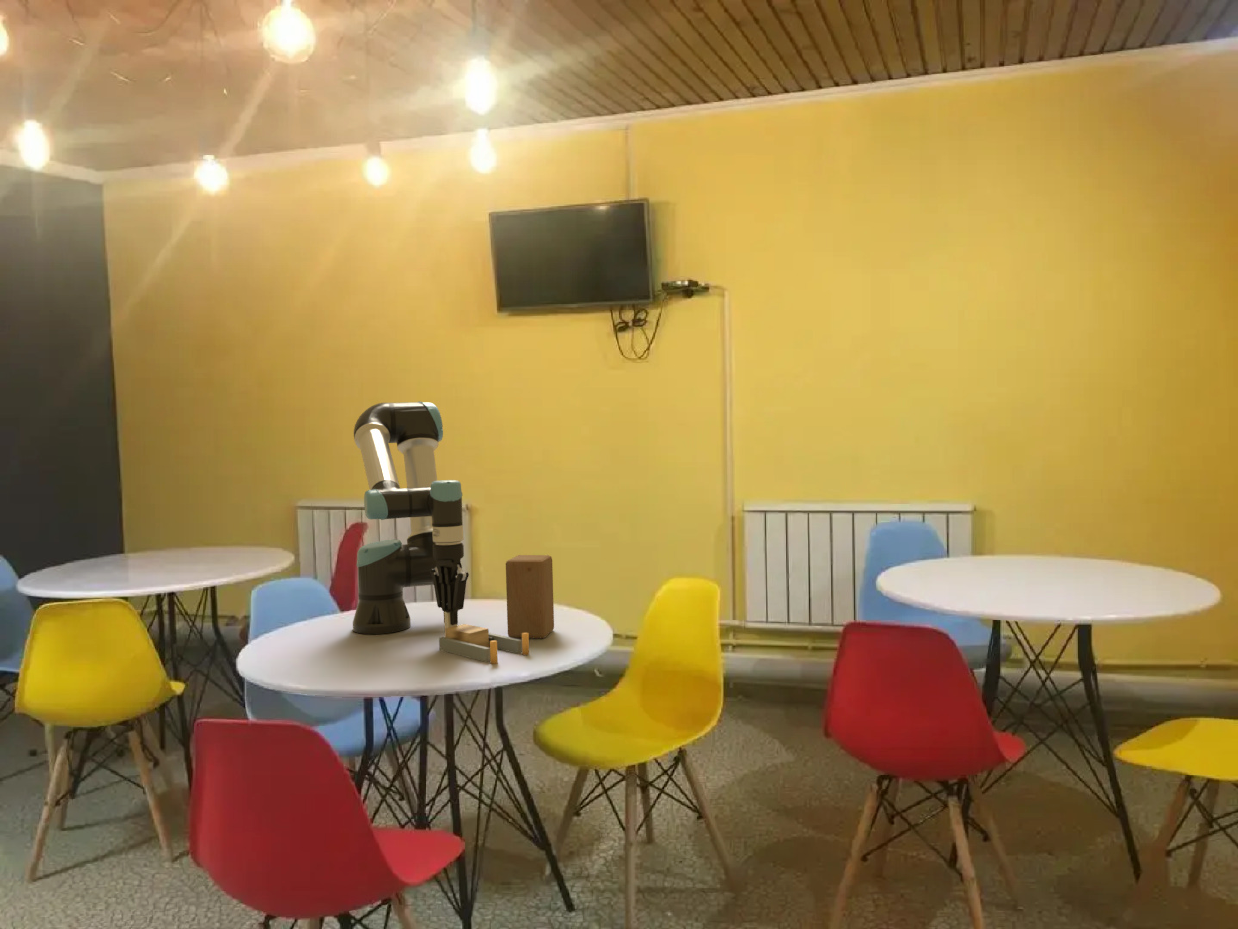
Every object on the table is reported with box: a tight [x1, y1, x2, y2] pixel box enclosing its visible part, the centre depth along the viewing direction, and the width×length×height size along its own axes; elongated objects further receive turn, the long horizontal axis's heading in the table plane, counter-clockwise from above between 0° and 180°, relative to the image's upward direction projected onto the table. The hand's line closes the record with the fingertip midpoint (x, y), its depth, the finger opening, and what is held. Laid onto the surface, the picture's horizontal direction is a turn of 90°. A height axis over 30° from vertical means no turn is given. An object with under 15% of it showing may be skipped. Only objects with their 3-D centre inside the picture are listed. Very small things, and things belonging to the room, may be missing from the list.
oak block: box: [444, 623, 490, 648], centre depth 224 cm, size 9×6×5 cm, turn 49°
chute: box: [438, 632, 530, 665], centre depth 219 cm, size 21×11×5 cm, turn 47°
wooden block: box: [505, 554, 555, 640], centre depth 236 cm, size 10×10×20 cm
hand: (451, 637), depth 228 cm, fingers closed
